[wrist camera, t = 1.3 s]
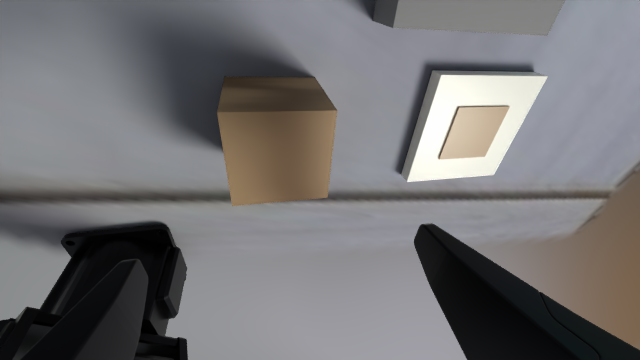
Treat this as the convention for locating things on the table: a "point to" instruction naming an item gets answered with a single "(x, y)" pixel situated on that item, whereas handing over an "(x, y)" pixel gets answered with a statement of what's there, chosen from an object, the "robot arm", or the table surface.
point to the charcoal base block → (470, 15)
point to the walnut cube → (276, 138)
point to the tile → (468, 122)
